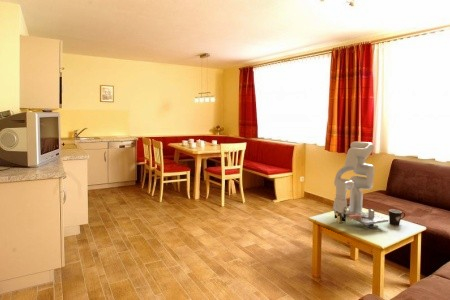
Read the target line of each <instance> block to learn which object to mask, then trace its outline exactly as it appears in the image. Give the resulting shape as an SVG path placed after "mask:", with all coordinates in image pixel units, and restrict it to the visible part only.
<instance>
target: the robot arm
mask: <svg viewBox="0 0 450 300" xmlns="http://www.w3.org/2000/svg"><path fill="white" fill-rule="evenodd" d="M374 147H375V146H374V144H373V143H372V142H369V141H368V142H367V141H352V142H351V143H350V148H349V149H348V150H347V154H346V156H345V162H344V165H343V166H342V167H341V168H339V170H338V171H337V172H336V174H335V177H334V182H333V184H334V186H335V197H334V201H333V206H332V208H333V209H332V210H333V211H334V212H333V213H334V219H337V215H335V212H339V213H342V222H343V223H344V222H346V221H347V219H346V218H347V215H350V214H354V213H356V214H357V213H364V212H363V197H364V193H363V190H372V189H373V186H374V179H375V172H376V171H375V169H376V168H375V166H374V165H373V164H370V163H366V159H368V158H369V156H370V155H371V154H372V153H373V151H374ZM350 171H353V173H354V174H355V175H353V176H351V177H349V178H350V179H348V178H342V176H343V175H344V174H345V173H347V172H350ZM359 175H360V176H359ZM365 176H366V177H365ZM362 189H363V190H362ZM347 190H348V191H349V190H350V195H349V205H348V202H347V201H348V200H347ZM343 213H344V214H343Z"/></svg>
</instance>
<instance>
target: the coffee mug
mask: <svg viewBox="0 0 450 300" xmlns="http://www.w3.org/2000/svg"><path fill="white" fill-rule="evenodd" d="M402 215H403V216H402ZM405 216H406V213H405V212H402V211H401V210H398V209H394V208H393V209H388V218H389V219H388V220H389V221H388V223H389V224H390V225H392V226H395V227H396V226H397V227H398V226H400V222H401V220H403V219H404V218H405Z"/></svg>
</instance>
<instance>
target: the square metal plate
mask: <svg viewBox="0 0 450 300" xmlns="http://www.w3.org/2000/svg"><path fill="white" fill-rule="evenodd" d="M357 214H358V215H361V220H358V219H352V220H353V221H356V222H358V223H360V224H362V225H363V226H366V227H368V228H370V229H372V228H373V229H374V228H378V227H379V226H378V224H380V223H381V224H382V223H389V219H388V218H386V217H383V216H380V215H378V214H375V210H374V209H370V208H369V209H368V211H367V212H363V213H357ZM349 215H354V214H348V215H347V216H346V218H349Z"/></svg>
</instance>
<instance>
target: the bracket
mask: <svg viewBox="0 0 450 300" xmlns="http://www.w3.org/2000/svg"><path fill="white" fill-rule="evenodd" d="M348 215H349V217H348V219H349V220H351V221H352V220H353V219H358V220H361V215H358V214H356V213H354V215H350V214H348Z"/></svg>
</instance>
